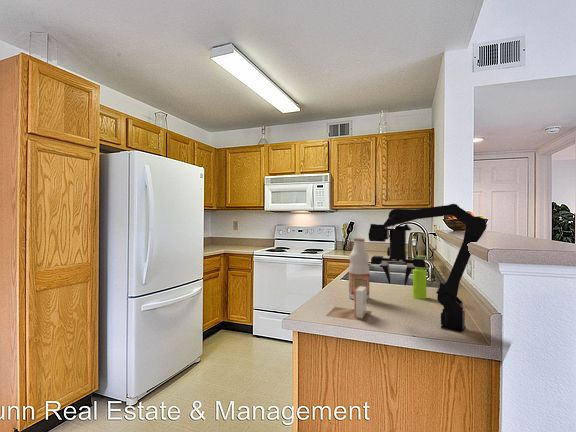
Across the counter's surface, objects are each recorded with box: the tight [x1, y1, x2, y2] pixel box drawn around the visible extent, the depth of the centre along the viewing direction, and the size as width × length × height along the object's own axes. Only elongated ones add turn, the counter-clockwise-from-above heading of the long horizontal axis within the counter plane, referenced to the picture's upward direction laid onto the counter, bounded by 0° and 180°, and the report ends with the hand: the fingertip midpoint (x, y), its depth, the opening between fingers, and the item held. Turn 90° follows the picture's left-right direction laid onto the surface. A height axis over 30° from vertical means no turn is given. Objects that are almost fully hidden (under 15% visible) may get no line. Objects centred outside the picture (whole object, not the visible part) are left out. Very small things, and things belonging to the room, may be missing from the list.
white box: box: [353, 286, 367, 318], centre depth 120 cm, size 3×8×10 cm, turn 156°
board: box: [325, 306, 372, 322], centre depth 122 cm, size 15×13×1 cm
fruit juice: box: [348, 237, 370, 301], centre depth 148 cm, size 9×9×28 cm
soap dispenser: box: [412, 254, 429, 300], centre depth 149 cm, size 6×7×20 cm
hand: (397, 284), depth 117 cm, fingers open, 5 cm apart
